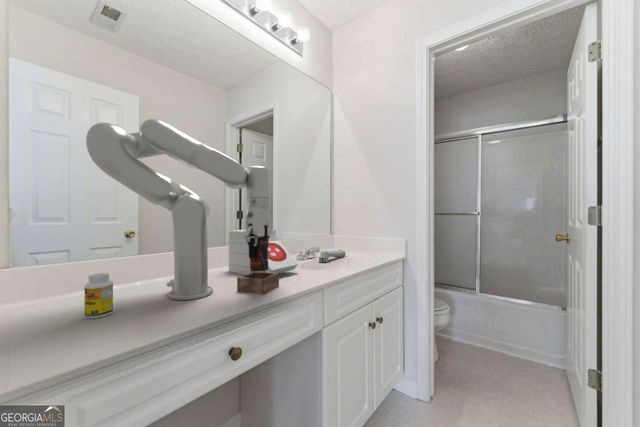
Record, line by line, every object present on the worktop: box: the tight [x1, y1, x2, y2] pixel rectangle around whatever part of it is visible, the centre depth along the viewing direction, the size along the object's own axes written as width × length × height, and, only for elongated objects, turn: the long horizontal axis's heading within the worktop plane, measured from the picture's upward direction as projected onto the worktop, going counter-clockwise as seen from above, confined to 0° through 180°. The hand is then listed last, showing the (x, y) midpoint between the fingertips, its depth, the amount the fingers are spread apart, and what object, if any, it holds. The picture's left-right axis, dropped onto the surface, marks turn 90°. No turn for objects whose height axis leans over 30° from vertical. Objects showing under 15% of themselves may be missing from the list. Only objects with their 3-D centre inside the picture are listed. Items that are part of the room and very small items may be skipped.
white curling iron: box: [318, 249, 346, 263], centre depth 149 cm, size 5×7×25 cm
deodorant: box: [250, 225, 268, 271], centre depth 91 cm, size 6×6×15 cm
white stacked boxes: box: [228, 229, 299, 275], centre depth 118 cm, size 19×30×18 cm, turn 52°
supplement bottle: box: [84, 272, 114, 320], centre depth 68 cm, size 6×6×10 cm
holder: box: [236, 271, 280, 295], centre depth 91 cm, size 10×10×4 cm
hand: (259, 256), depth 91 cm, fingers closed on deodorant, 5 cm apart
